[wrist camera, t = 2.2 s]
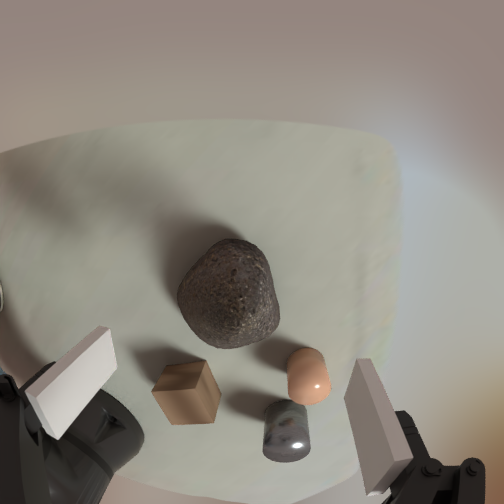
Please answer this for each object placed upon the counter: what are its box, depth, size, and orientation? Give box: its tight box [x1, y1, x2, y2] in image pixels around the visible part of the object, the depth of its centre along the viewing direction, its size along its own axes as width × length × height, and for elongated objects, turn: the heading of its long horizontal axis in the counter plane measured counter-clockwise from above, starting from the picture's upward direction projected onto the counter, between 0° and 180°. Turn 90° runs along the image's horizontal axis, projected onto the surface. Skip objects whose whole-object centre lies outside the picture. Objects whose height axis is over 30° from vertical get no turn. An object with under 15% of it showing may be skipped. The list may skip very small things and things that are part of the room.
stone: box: [177, 239, 280, 349], centre depth 24 cm, size 10×8×10 cm
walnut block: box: [151, 361, 221, 425], centre depth 26 cm, size 5×5×5 cm
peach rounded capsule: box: [287, 348, 331, 405], centre depth 25 cm, size 4×4×4 cm
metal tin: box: [263, 400, 311, 462], centre depth 26 cm, size 5×5×6 cm
